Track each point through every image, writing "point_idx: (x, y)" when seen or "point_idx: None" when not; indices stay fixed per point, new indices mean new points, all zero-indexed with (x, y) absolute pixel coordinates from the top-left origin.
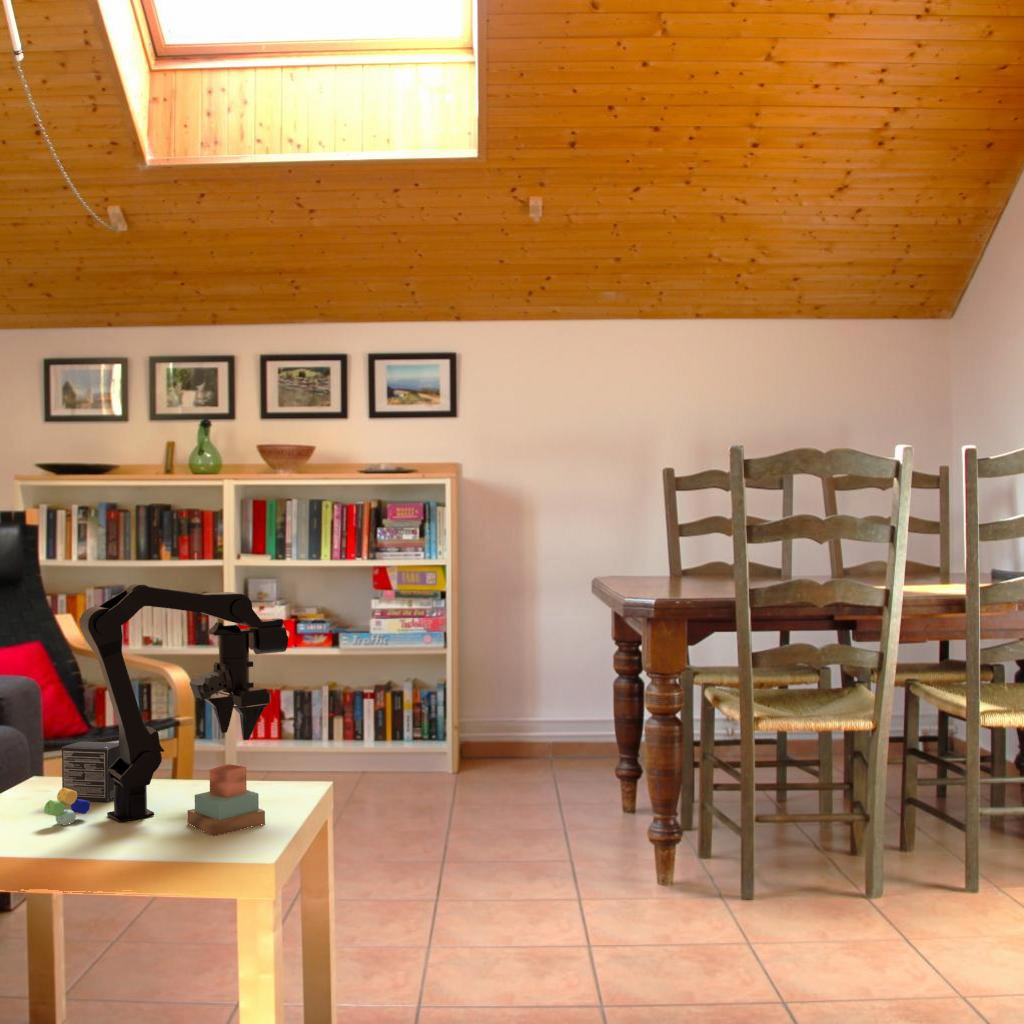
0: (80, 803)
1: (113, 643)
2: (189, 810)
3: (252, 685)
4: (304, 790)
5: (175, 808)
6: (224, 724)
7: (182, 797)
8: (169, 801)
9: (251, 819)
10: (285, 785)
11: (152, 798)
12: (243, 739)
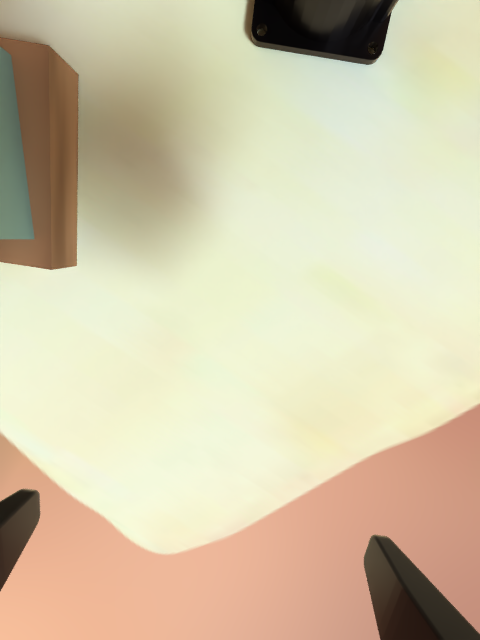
0: None
1: None
2: (39, 48)
3: None
4: (143, 499)
5: (276, 161)
6: (396, 620)
7: (370, 256)
8: (368, 199)
9: None
10: (224, 501)
11: (452, 183)
12: (31, 490)
